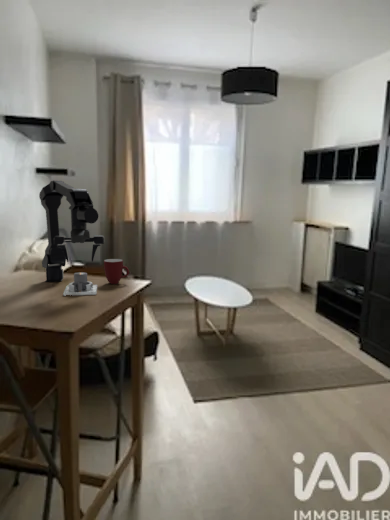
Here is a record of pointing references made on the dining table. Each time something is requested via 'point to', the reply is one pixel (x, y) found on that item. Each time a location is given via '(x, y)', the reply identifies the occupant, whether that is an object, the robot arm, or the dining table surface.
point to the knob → (80, 280)
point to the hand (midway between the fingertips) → (80, 261)
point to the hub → (71, 290)
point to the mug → (114, 270)
